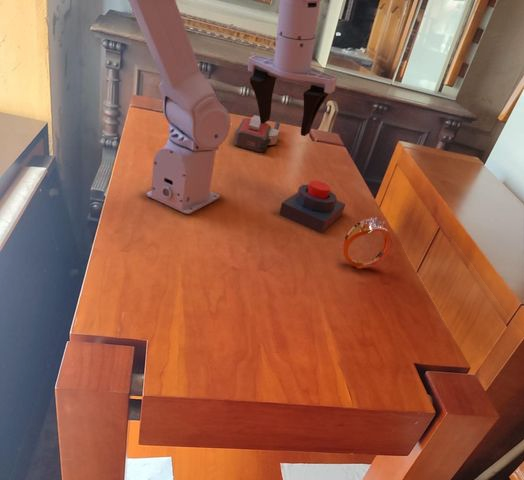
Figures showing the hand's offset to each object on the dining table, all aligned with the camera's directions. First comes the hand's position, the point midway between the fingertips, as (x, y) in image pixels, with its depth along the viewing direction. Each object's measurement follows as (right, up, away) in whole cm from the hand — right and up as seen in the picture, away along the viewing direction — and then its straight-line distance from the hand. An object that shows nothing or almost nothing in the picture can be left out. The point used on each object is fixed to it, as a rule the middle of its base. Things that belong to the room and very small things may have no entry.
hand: (284, 127), depth 82 cm
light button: (+5, -12, 0) cm, 13 cm away
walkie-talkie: (-5, +10, +27) cm, 29 cm away
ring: (+11, -25, -8) cm, 29 cm away
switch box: (+5, -14, +2) cm, 15 cm away
